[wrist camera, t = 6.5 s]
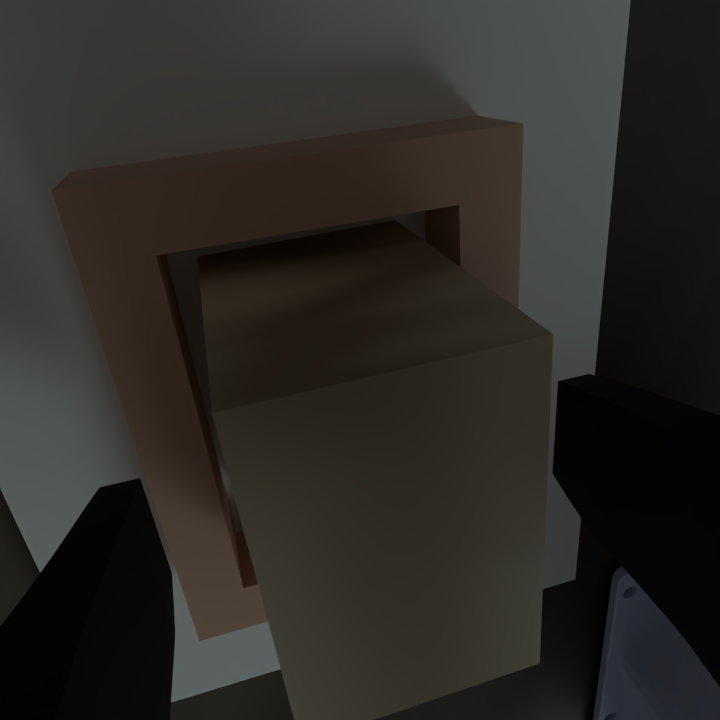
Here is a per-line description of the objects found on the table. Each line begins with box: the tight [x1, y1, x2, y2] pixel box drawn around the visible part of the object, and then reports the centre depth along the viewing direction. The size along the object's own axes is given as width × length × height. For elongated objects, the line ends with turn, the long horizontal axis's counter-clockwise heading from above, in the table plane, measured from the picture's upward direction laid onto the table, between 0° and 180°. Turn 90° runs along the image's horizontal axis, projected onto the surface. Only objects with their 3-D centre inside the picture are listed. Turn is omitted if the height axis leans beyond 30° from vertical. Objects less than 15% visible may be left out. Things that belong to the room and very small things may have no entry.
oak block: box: [197, 220, 553, 720], centre depth 11 cm, size 4×6×6 cm, turn 6°
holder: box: [0, 0, 631, 702], centre depth 13 cm, size 18×14×3 cm
